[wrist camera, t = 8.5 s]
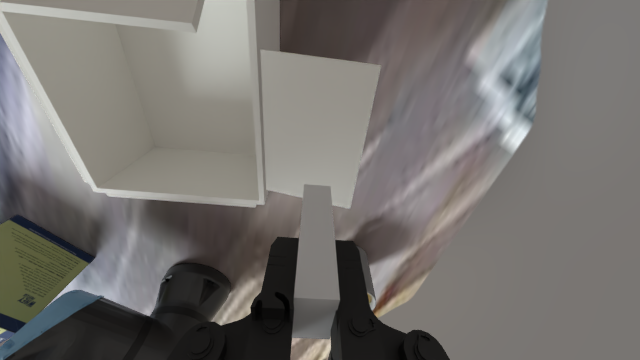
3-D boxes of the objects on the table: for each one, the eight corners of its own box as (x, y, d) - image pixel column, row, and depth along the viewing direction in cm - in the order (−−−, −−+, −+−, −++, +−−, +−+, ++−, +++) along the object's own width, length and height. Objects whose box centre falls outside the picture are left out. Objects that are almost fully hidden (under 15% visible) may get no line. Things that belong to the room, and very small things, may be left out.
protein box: (16, 212, 44) (-112, 290, 31) (96, 257, 51) (20, 335, 38) (-7, 233, 47) (-131, 311, 34) (72, 272, 54) (-6, 349, 41)
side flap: (268, 187, 25) (350, 206, 23) (266, 189, 24) (349, 209, 23) (263, 49, 18) (381, 64, 16) (260, 49, 17) (381, 65, 16)
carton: (279, 160, 37) (264, 209, 27) (154, 149, 36) (90, 196, 26) (279, -38, 24) (250, -84, 14) (83, -63, 23) (-97, -131, 13)
